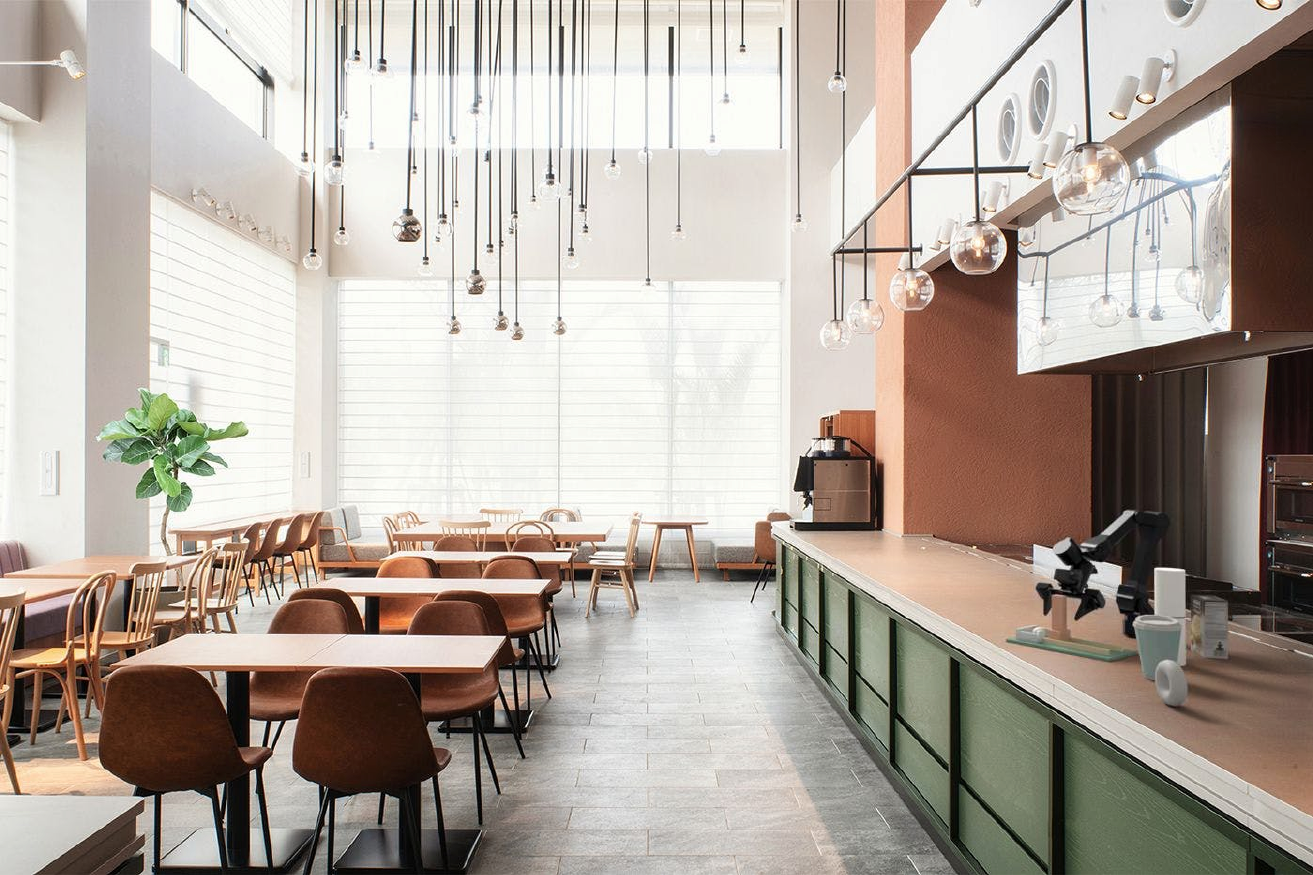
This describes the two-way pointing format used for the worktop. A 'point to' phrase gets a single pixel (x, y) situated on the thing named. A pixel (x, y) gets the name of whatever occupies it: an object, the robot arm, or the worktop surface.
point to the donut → (1171, 683)
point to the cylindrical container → (1172, 601)
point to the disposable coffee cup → (1156, 641)
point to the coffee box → (1209, 626)
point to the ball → (1039, 630)
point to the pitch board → (1080, 648)
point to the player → (1059, 619)
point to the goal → (1031, 634)
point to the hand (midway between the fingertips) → (1059, 617)
